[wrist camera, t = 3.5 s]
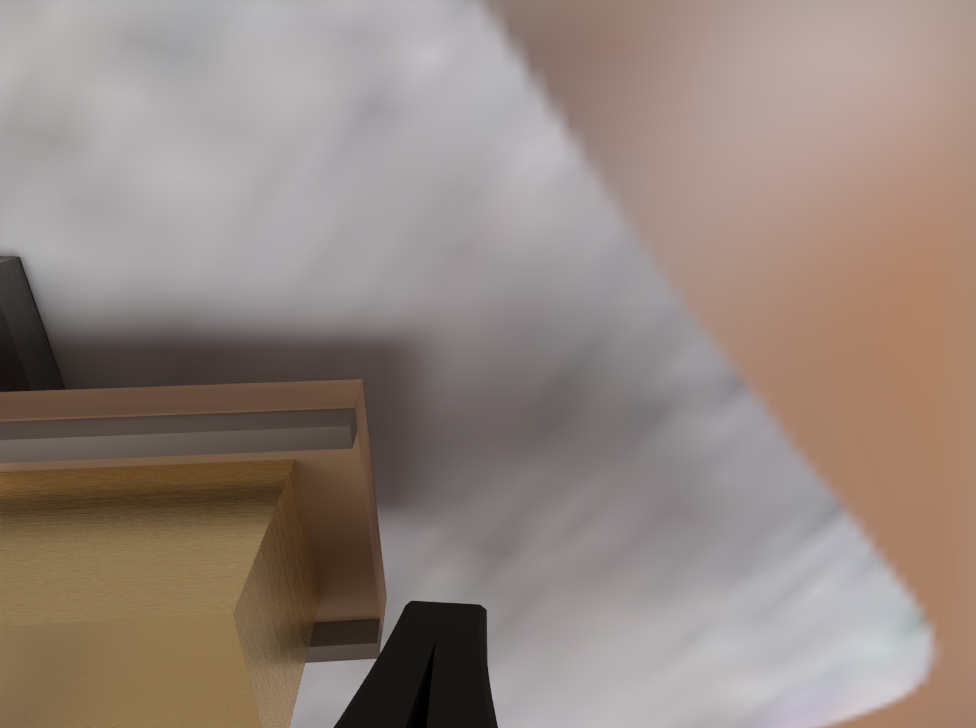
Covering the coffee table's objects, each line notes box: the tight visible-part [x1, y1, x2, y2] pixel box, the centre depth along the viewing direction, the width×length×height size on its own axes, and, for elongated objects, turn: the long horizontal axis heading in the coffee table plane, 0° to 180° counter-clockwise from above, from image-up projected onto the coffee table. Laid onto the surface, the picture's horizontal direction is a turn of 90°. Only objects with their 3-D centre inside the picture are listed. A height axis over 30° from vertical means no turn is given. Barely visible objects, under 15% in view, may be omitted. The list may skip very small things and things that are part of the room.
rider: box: [0, 459, 320, 728], centre depth 11 cm, size 4×6×4 cm, turn 91°
